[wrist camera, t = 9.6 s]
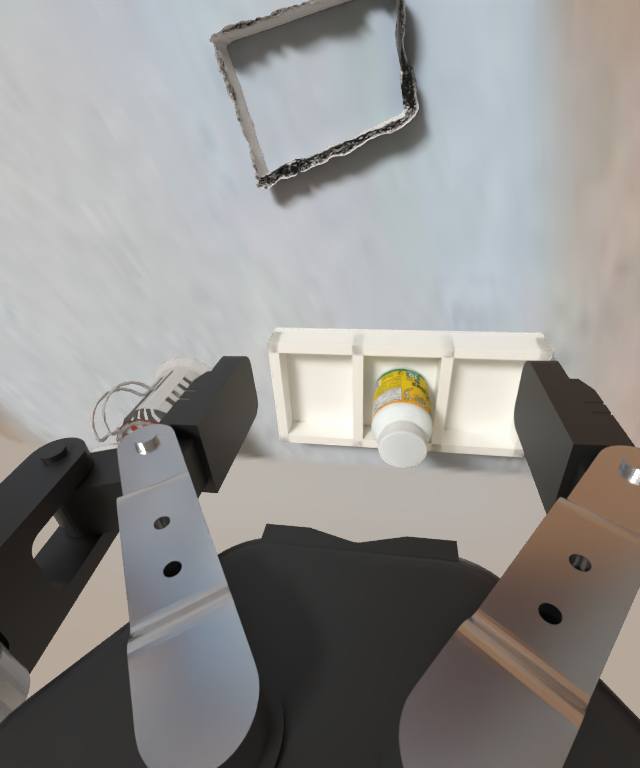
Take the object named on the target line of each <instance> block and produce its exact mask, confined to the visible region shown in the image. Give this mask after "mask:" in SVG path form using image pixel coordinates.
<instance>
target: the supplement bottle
mask: <svg viewBox="0 0 640 768" xmlns="http://www.w3.org/2000/svg"><path fill="white" fill-rule="evenodd" d="M371 428H372V434H373V436H374V438H375V440H376V441H377V443H378V451H379V455H380V457H381V458H382V459H383V460H384V461H385V462H386V463H387V464H389V465H391V466H394V467H399V468H408V467H413V466H415V465H418V464H419V463H421V462H422V461H423V460H424V459H425V457H426V454H427V443H428V442H429V440H430V439H431V436H432V433H433V421H432V413H431V406H430V397H429V389H428V384H427V381H426V379H425V378H424V376H423V375H422V374H421V373H420V372H418V371H416V370H414V369H412V368H409V367H404V366H397V367H393V368H390V369H388V370H386V371H384V372H383V373H382V374H381V375H380V376H379V377H378V379H377V380H376V383H375V387H374V397H373V410H372V425H371Z"/></svg>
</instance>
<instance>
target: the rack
mask: <svg viewBox="0 0 640 768" xmlns="http://www.w3.org/2000/svg"><path fill="white" fill-rule="evenodd" d="M267 346H268V353H269V361H270V368H271V376H272V383H273V391H274V398H275V406H276V413H277V421H278V429H279V436H280V442H295V443H310V444H326V445H341V446H356V447H371V448H378V443H377V441H376V440H375V438H374V436H373V434H372V428H371V425H372V410H373V397H374V387H375V383H376V380H377V379H378V377H379V376H380V375H381V374H382V373H383V372H384V371H386V370H388V369H390V368H393V367H397V366H404V367H409V368H412V369H414V370H416V371H418V372H420V373H421V374H422V375H423V376H424V378H425V379H426V381H427V384H428V389H429V397H430V406H431V413H432V421H433V433H432V436H431V439H430V440H429V442H428V443H427V451H432V452H447V453H462V454H477V455H493V456H508V457H523V456H524V451H523V448H522V446H521V443H520V440H519V437H518V435H517V432H516V429H515V425H514V407H515V402H516V398H517V393H518V388H519V383H520V379H521V374H522V369H523V366H524V363H525V362H526V361H527V360H537V361H551V359H552V355H553V352H554V350H553V349H552V347H551V346H550V345H549V343H548V342H547V340H546V339H545V337H544V336H543V334H542V333H520V332H470V331H420V330H370V329H320V328H276V329H275V331H274V332H273V334H272V336H271V338H270V339H269V341H268V343H267Z"/></svg>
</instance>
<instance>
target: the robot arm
mask: <svg viewBox="0 0 640 768" xmlns="http://www.w3.org/2000/svg"><path fill="white" fill-rule="evenodd" d="M257 408H258V400H257V394H256V389H255V383H254V378H253V373H252V368H251V363H250V360H249V358H248V357H246V356H223V357H222V358H221V359H220V360H219V362H218V363H217V364H216V366H215V367H214V368H213V369H212V371H207V372H205V373H204V374H202V375H201V376H199V377H197V378H196V379H194V380H193V382H192V383H191V384H190V385H189V387H188V388H187V389H186V392H185V391H184V393H183V394H182V395H181V396H180V399H179V400H177V401H176V402H175V404H174V405H173V406H172V407H171V409H170V410H169V411H168V412H167V414H166V415H165V416H164V417H163V418H162V420H161V421H160V422H159V423H158V424H153V425H147V426H144V427H141V428H138V429H136V430H134V431H132V432H131V433H129V434H128V435H126V436H125V437H124V438H123V439H122V440H121V441H120V443H119V444H118V447H117V448H114V449H108V450H103V451H97V452H91V453H90V452H89V450H88V448H87V446H86V444H85V442H84V441H83V440H81V439H79V438H64V439H59V440H56V441H53V442H50V443H48V444H46V445H44V446H42V447H40V448H39V449H37V450H36V451H34V452H33V453H32V454H31V455H30V456H29V457H28V458H26V459H25V460H24V461H23V462H22V463H21V464H20V465H19V466H18V467H17V468H16V469H15V470H14V471H13V472H12V473H11V474H10V475H9V476H8V477H7V478H6V479H5V480H4V481H3V482H2V483H0V768H640V719H639V718H638V717H637V716H636V715H635V714H634V713H633V712H632V711H631V710H630V709H629V708H628V707H627V706H626V705H625V704H624V703H623V702H622V701H621V700H620V699H619V697H618V696H616V694H615V693H614V692H613V691H612V690H611V689H610V688H609V687H608V686H607V685H606V684H605V683H604V682H603V681H602V680H601V679H600V675H601V673H602V671H603V669H604V666H605V664H606V662H607V660H608V657H609V655H610V653H611V650H612V648H613V646H614V644H615V641H616V639H617V637H618V634H619V632H620V630H621V628H622V625H623V623H624V621H625V619H626V616H627V614H628V612H629V609H630V607H631V605H632V603H633V600H634V598H635V596H636V593H637V591H638V589H639V587H640V448H637V447H635V446H634V444H633V443H632V441H631V440H630V439H629V437H628V436H627V434H626V433H625V432H624V430H623V429H622V427H621V426H620V425H619V423H618V422H617V420H616V419H615V418H614V416H613V415H611V412H610V411H609V409H608V408H607V406H606V405H603V401H602V399H601V398H600V397H599V395H598V394H597V392H596V391H595V390H594V389H593V388H591V387H590V386H588V385H587V384H585V383H584V382H582V381H581V380H579V379H569V377H568V376H567V374H566V373H565V371H564V370H563V368H562V366H561V365H560V363H559V362H558V361H537V360H527V361H526V362H525V363H524V366H523V369H522V374H521V379H520V383H519V388H518V393H517V398H516V402H515V407H514V425H515V429H516V432H517V435H518V437H519V440H520V443H521V446H522V448H523V451H524V454H525V457H526V459H527V462H528V465H529V468H530V470H531V473H532V476H533V478H534V481H535V484H536V487H537V489H538V492H539V495H540V498H541V500H542V503H543V506H544V509H545V510H546V514H547V515H546V517H545V518H544V519H543V521H542V522H541V524H540V525H539V526H538V528H537V529H536V530H535V532H534V533H533V534H532V536H531V537H530V539H529V540H528V541H527V543H526V544H525V545H524V547H523V548H522V549H521V551H520V552H519V554H518V555H517V556H516V558H515V559H514V561H513V562H512V563H511V565H510V566H509V567H508V569H507V570H506V572H505V573H504V574H503V576H502V577H501V578H499V577H497V576H496V575H494V574H493V573H492V572H490V571H488V570H486V569H485V568H483V567H481V566H479V565H477V564H475V563H473V562H470V561H468V560H465V559H463V558H459V557H458V549H457V541H449V540H439V539H427V538H417V537H400V538H393V539H384V540H377V541H369V542H362V543H356V542H351V541H348V540H345V539H342V538H339V537H336V536H333V535H330V534H327V533H324V532H321V531H318V530H315V529H312V528H307V527H295V526H285V525H274V524H266V527H265V530H264V533H263V536H262V538H260V539H255V540H251V541H247V542H244V543H241V544H239V545H236V546H233V547H231V548H229V549H227V550H225V551H223V552H222V553H220V554H218V555H217V552H216V550H215V547H214V544H213V541H212V538H211V535H210V532H209V530H208V527H207V524H206V521H205V518H204V515H203V512H202V510H201V507H200V503H199V501H198V498H199V496H200V494H201V492H210V493H218V491H219V489H220V487H221V485H222V483H223V481H224V479H225V477H226V475H227V473H228V471H229V469H230V467H231V465H232V463H233V461H234V459H235V457H236V455H237V453H238V451H239V449H240V447H241V445H242V443H243V441H244V439H245V437H246V435H247V433H248V431H249V429H250V427H251V425H252V423H253V421H254V419H255V417H256V414H257ZM52 516H54V517H55V519H56V521H57V522H58V524H59V525H60V526H59V527H58V529H57V530H56V531H55V532H54V534H53V535H52V536H51V538H50V539H49V540H48V541H47V543H46V544H45V545H44V546H43V548H42V549H41V550H40V551H39V553H38V554H37V555H36V557H35V558H34V559H33V557H32V545H33V542H34V540H35V538H36V536H37V534H38V533H39V532H40V530H42V528H43V527H44V526H45V525H46V523H47V522H48V521H49V520H50V518H51V517H52ZM119 531H120V539H121V548H122V557H123V566H124V575H125V584H126V593H127V601H128V611H129V622H128V623H127V624H126V625H124V626H123V627H122V628H120V629H119V630H118V631H116V632H115V633H114V634H112V635H111V636H110V637H109V638H107V639H106V640H105V641H103V642H102V643H101V644H99V645H98V646H97V647H95V648H94V649H93V650H91V651H90V652H89V653H87V654H86V655H85V656H84V657H82V658H81V659H80V660H78V661H77V662H76V663H74V664H73V665H72V666H70V667H69V668H68V669H66V670H65V671H64V672H62V673H61V674H60V675H59V676H57V677H56V678H55V679H53V680H52V681H51V682H49V683H48V684H47V685H45V686H44V687H43V688H41V689H40V690H39V691H38V692H36V693H35V694H34V695H32V696H31V697H30V698H28V699H27V700H26V698H27V695H28V692H29V687H30V676H29V675H30V673H31V671H32V670H33V668H34V667H35V665H36V663H37V662H38V660H39V659H40V657H41V655H42V654H43V652H44V651H45V649H46V647H47V646H48V644H49V643H50V641H51V640H52V638H53V636H54V635H55V633H56V632H57V630H58V628H59V627H60V625H61V623H62V622H63V620H64V619H65V617H66V616H67V614H68V612H69V611H70V609H71V608H72V606H73V604H74V603H75V601H76V600H77V598H78V596H79V595H80V593H81V592H82V590H83V588H84V587H85V585H86V584H87V582H88V580H89V579H90V577H91V576H92V574H93V572H94V571H95V569H96V568H97V566H98V564H99V563H100V561H101V560H102V558H103V556H104V555H105V553H106V552H107V550H108V548H109V547H110V545H111V543H112V542H113V540H114V539H115V537H116V536H117V534H118V532H119ZM25 700H26V701H25Z"/></svg>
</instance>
